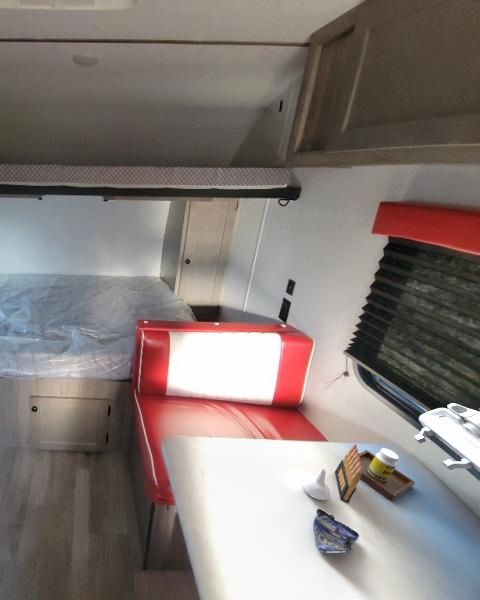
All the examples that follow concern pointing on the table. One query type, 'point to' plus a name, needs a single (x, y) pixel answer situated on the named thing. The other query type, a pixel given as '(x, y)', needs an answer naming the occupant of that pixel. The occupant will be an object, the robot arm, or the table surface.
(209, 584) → the table surface
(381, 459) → the supplement bottle
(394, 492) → the tray
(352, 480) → the ammunition clip
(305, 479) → the white funnel
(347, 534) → the snack package
